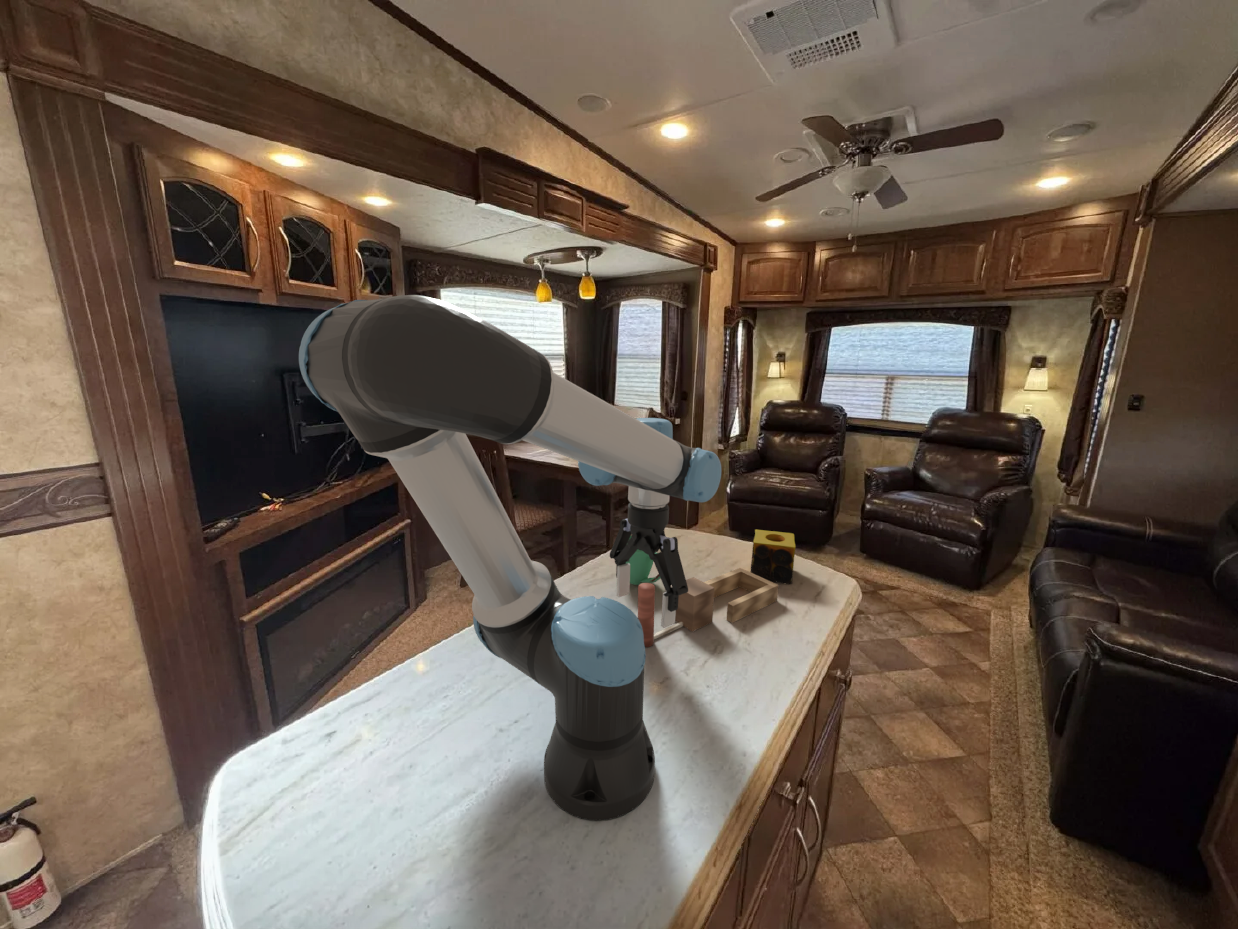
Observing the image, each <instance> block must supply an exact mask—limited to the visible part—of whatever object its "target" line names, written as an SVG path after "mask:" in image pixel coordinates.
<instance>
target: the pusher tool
mask: <svg viewBox="0 0 1238 929" xmlns="http://www.w3.org/2000/svg"><path fill="white" fill-rule="evenodd" d="M686 582H687V586H688V592H687V593H684V594H681V595H679V599H678V609H677V610H676V615H675V624H672V625H670V626H667V627H665V628H663V629H662V630H660V631H657V632H656V633H655V608H656V607H655V605H656V604H655V600H656V598H655V597H656V596H655V595H656V586H655V585H654V584H653V583H642V584H640V585H637V586H638V587H637V618H638V619H639V621H640V623H641V626H642V630H643V635H644V645H645V648H650V647H653V645H654V641H655V640H656V639H658V638H661V637H663V636H665V635H667V634H670V633H672V632H674V631H676V630H678V629H680V628H682V627H684V628H685V629H686V630H689V631H690V632H691V633H692V632H695V631H697V630H699V629H701V628H704V627H705V626H708V625H710V624H712V623H713V621H714V620H713V618H714V613H713V612H714V604H715V603H714V602H715V598H714V587H712V586H710V585H708V584H706V583H704V582H705V581H702V580H700V579H698V578H697V577H694V576H693V577H690V578H688V579H687V578H686Z"/></svg>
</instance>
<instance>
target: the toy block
mask: <svg viewBox="0 0 1238 929" xmlns="http://www.w3.org/2000/svg"><path fill="white" fill-rule="evenodd" d="M754 533H755V534H754V537H753V541H752V550H751V551H752V553H751V561H750V562H751V564H750V572H751V573H753V574H755V575H757V576H760V577H762V578H764V579H766V580H768V581H771V582H773V583H775V584H778V583H779V584H784V583H786V585H792V584H793V577H794V576H793V575H794V564H795V554H796V553H795V552H796V547H797V546H796V541H795V534H794V533H792V532H782V531H775V530H773V531H771V530H766V529H765V530H763V529H754Z"/></svg>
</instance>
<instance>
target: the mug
mask: <svg viewBox="0 0 1238 929" xmlns="http://www.w3.org/2000/svg"><path fill="white" fill-rule="evenodd" d="M631 537H632V535H631V536H630V538H631ZM630 538H629V539H630ZM626 563H629V564H630V585H634V586H639V585H640V584H642V583H651V584H653V583H657V582H658V581H659V580H661V578H660V576H659V573H658V574H657V575H656V576H654V577H649V576H650V575H651V574H650V573H651V571H652V568H653V565H654V561H653V560H651V559H650V557H649V555H648V554H646V553H645V552H643V551H641V550H637V551H636V552H635V553H634V554H633V555H632V557H631V558H630V559H629V562H626Z"/></svg>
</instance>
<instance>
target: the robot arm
mask: <svg viewBox="0 0 1238 929" xmlns="http://www.w3.org/2000/svg"><path fill="white" fill-rule="evenodd" d="M298 364H299V370H300V373H301V377H302V379H303V381H304V383H305V385H306V387H307V388H308V389H309V391H310V392H311V393H312V394H313V395H314V396H315V398H316V399H317V400H319V401H320V403H322V404H324V406H326V407H327V408H329V409H330V410H333V411H335V412H337V413H338V414H339V415H340V416H341V418H342V419H343V421H344V423H345V424H346V426H347V427H348V428H349V430H350V432H351V433H352V434H353V436H354V437H355V439H356V440H357V442H358V444H359V445H360V446H361V447H362V449H363V451H364V452H365V453H366V454H368V455H371V456H376V457H380V458H385V459H387V460H388V461H389V463H390V464H391V467H392V468H393V469H394V471H395V472H396V474H397V476H398V478H400V480H401V482H402V483H403V485H404V487H405V488H406V489H407V491H408V493H409V494H410V496H411V497H412V499H413V500H414V502H415V504H416V505H417V507H418V508H419V510H420V511H421V513H422V515H423V517H424V518H425V519H426V521H427V522H428V524H429V526H430V527H431V529H432V531H433V532H434V534H435V535H436V537H437V538H438V540H439V542H440V543H441V545H442V546H443V548H444V550H445V551H446V552H447V554H448V555H449V557H450V559H451V560H452V562H453V563H454V565H455V567H456V568H457V570H458V571H459V573H460V574H461V576H462V578H463V579H464V580H465V582H466V584H467V585H468V587H469V588H470V590H471V592H472V593H473V595H474V596H473V598H472V601H471V610H472V614H473V616H472V618H473V619H472V620H473V627H474V628H473V629H474V632H475V634H476V637H477V638H478V641H480V642H481V643H482V644H483V646H484V647H485V648H486V649H487V651H489V652H490V653H491V654H492V655H494V656H495V657H496V658H499V659H501V660H503V661H504V662H506V663H508V664H509V665H510V666H512V667H514V668H516V669H517V670H518V671H519V672H521V673H523V674H524V675H526V676H527V677H528V678H530V679H532V680H533V681H534V682H536V683H537V684H539V685H540V686H541V687H543V688H544V689H545V690H547V691H549V692H551V694H552V695H553V697H554V711H555V712H554V713H555V724H554V725H553V730H552V731H551V732H552V733H551V736H550V738H549V741H548V744H547V746H546V749H545V752H544V757H543V758H544V759H543V778H544V785H545V788H546V791H547V793H548V795H549V796H550V798H551V800H552V801H553V802H554V803H555V804H556V805H557V806H558V807H559V808H560V809H561V810H563V811H564V812H566V813H568V814H569V815H571V816H573V817H577V818H580V819H584V820H589V821H605V820H611V819H616V818H619V817H622V816H624V815H626V814H628V813H629V812H632V811H634V810H635V809H636V808H637V807H638V806H640V805H641V803H642V802H643V801H644V800H645V799H646V798H647V796H648V795H649V793H651V792H650V791H651V789H652V787H653V785H654V784H653V783H654V780H655V774H656V773H655V769H656V764H655V763H656V756H655V751H654V747H653V744H652V741H651V739H650V736H649V733H648V730H647V728H646V724H645V722H644V715H643V714H644V691H645V690H644V685H645V664H646V657H647V654H646V647H645V645H644V635H643V630H642V626H641V623H640V621H639V619H638V615H636V614H635V613H634V612H633V611H632V609H630V608H629V607H628V606H626V605H625V604H623V603H621V602H619V601H617V600H615V599H612V598H609V597H605V596H604V597H603V596H601V597H600V598H596V597H595V596H594V595H588V596H587V595H585V596H580V597H579V596H578V597H576V598H573V599H571V598H568V597H567V596H565V595H563V593H561V592H560V590H559V588H558V586H557V585H556V582H555V581H554V578H553V577H552V575H551V573H550V571H549V569H548V567H547V566H546V565H544V564H543V563H541V562H538V561H534V560H531V558H530V557H529V554H528V552H527V550H526V548H525V546H524V545H523V542H522V540H521V539H520V537H519V535H518V533H517V531H516V529H515V526H514V525H513V524H512V521H511V520H510V517H509V516H508V513H507V511H506V509H505V508H504V506H503V503H502V502H501V499H500V498H499V496H498V494H497V492H496V490H495V489H494V485H493V484H492V483H491V481H490V479H489V476H488V475H487V473H486V471H485V468H484V467H483V464H482V463H481V461H480V459H479V457H478V456H477V454H476V452H475V449H474V448H473V446H472V444H471V442H470V440H469V438H468V436H467V435H470V436H475V437H476V436H477V437H480V438H483V439H488V440H490V441H493V442H495V443H499V444H502V445H513V444H517V443H520V442H521V441H523V442H526V443H529V444H532V445H534V446H536V447H540V448H543V449H545V450H548V451H550V452H553V453H556V454H558V455H560V456H564V457H566V458H569V459H573V460H575V461H577V466H578V467H577V468H578V471H579V473H580V474H581V476H582V478H583V479H584V480H585V482H586V483H588V484H590V485H592V486H595V487H599V486H608V485H611V484H614V483H615V484H621V485H623V486H627V487H628V493H627V494H628V495H627V500H628V502H629V503H628V505H627V518H624V519H620V521H619V529H618V532H617V535H616V537H615V539H614V542H613V544H612V547H611V550H610V552H609V557H610V559H613V560H614V563H615V565H616V568H615V572H616V573H615V575H616V597H617V598H621V597H624V596H627V595H630V586H631V584H630V564H629V563H626V562H629V559H630V558H631V557H632V555H633V554H634V553H635V552H636V551H637V550H641V551H643V552H645V553H646V554H648V555H649V557H650V559H651V560H653V564H654V566H655V568H656V571H657V573H658V574H659V576H660V580H661V583H662V585H663V587H664V590H665V592H662V602H661V619H660V620H661V622H660V627H662V628H663V629H666V628H668V627H670V626H672V625H675V624H676V621H675V615H676V610H677V609H678V599H679V595H681V594H684V593H687V592H688V586H687V582H686V580H687V578H686V576H685V572H684V568H683V567H684V566H683V564H682V560H681V556H680V553H679V540H678V537H676V536H672V537H670V536H669V537H668V536H666V534H665V529H666V527H667V525H668V524H669V519H670V518H669V516H670V515H669V514H670V506H669V505H668V504H669V503H670V497H673V498H678V499H681V500H684V501H687V502H688V501H691V502H697V503H705V502H708V501H710V500H711V499H712V498H713V497H714V496H715V495H716V493H717V491H718V488H719V487H720V484H721V483H720V482H721V478H722V463H721V460H720V458H719V457H718V455H717V454H716V453H715V452H714V451H712V450H707V449H702V448H701V447H690V446H687V445H684V444H683V443H681V442H679V441H677V440H675V439H674V438H673V436H674V434H673V433H674V432H673V430H674V429H673V424H672V422H671V421H670V420H669V419H664V418H659V417H658V418H657V417H638V418H637V417H636V418H635V417H633V416H632V415H630V414H628V413H626V412H625V411H623V410H621V409H619V408H618V407H616V406H614V405H612V404H611V403H609V402H607V401H605V400H604V399H601V398H600V397H598V396H597V395H594V394H593V393H592V392H589V391H587V390H586V389H584V388H582V387H580V386H579V385H577V384H575V383H573V382H572V381H569V380H568V379H566V378H564V377H563V376H560V375H558V374H557V373H555V372H554V371H553V366H552V364H551V362H550V360H549V359H548V358H547V356H546V355H544V354H543V353H541V352H540V351H538V350H537V349H535V348H533V347H532V346H530V345H528V344H526V343H525V342H523V341H521V340H519V339H518V338H516V337H515V336H512V335H511V334H509V333H508V332H505V331H503V330H502V329H500V328H498V327H497V326H495V325H494V324H492V323H490V322H488V321H486V320H484V319H483V318H481V317H479V316H476V315H475V314H473V313H470V312H469V311H467V310H465V309H462V308H461V307H458V306H456V305H453V304H451V303H449V302H447V301H445V300H441V299H439V298H433V297H429V296H425V295H419V294H408V295H407V294H406V295H405V294H404V295H396V296H390V297H387V298H379V299H355V300H353V301H348V302H347V303H346V302H345V303H340V304H338V305H337V306H334V307H333V308H330V309H327V310H326V311H324V312H322V313H321V314H319V315H318V316H317V317H315V319H314V320H313V321H312V322H311V323H310V324H309V325H308V327H307V329H306V330H305V331H304V333H303V336H302V338H301V341H300V346H299V351H298ZM630 536H632V537H631V538H630ZM629 538H630V539H629ZM658 551H660V552H658Z"/></svg>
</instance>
